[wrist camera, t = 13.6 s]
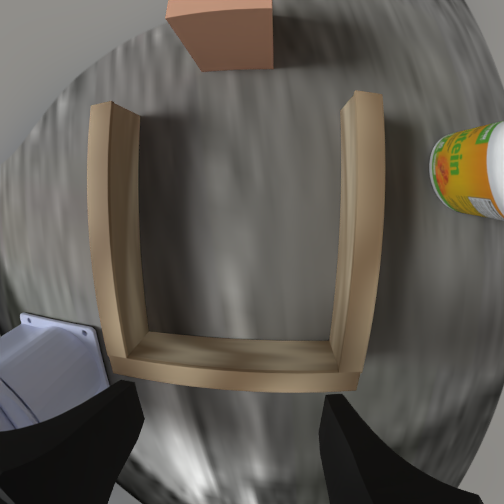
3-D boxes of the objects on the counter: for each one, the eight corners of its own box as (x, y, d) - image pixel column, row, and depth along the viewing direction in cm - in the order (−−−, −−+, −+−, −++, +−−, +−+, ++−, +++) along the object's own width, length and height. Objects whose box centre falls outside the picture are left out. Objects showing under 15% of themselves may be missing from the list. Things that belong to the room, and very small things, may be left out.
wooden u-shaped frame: (135, 344, 20) (111, 372, 16) (123, 118, 17) (90, 105, 13) (344, 356, 19) (357, 390, 15) (360, 113, 16) (382, 94, 12)
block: (201, 72, 16) (165, 18, 9) (205, 19, 15) (177, -42, 8) (273, 69, 16) (272, 8, 9) (272, 15, 15) (269, -51, 8)
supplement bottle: (440, 119, 15) (538, 86, 6) (490, 162, 15) (587, 159, 6) (415, 186, 16) (522, 191, 7) (468, 225, 16) (569, 254, 7)
